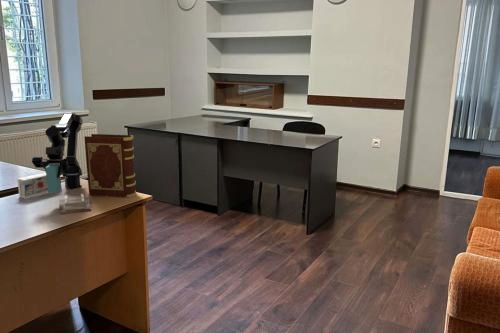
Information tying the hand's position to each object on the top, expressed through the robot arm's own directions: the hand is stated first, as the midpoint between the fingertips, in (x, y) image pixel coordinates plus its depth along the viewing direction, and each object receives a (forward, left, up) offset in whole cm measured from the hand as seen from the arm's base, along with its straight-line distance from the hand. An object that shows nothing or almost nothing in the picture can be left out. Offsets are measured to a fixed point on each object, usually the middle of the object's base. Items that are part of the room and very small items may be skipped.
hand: (52, 177), depth 188 cm
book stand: (-6, +7, -13) cm, 16 cm away
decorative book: (-28, +3, -14) cm, 31 cm away
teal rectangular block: (-1, -1, -7) cm, 7 cm away
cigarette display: (-4, -25, -14) cm, 29 cm away
